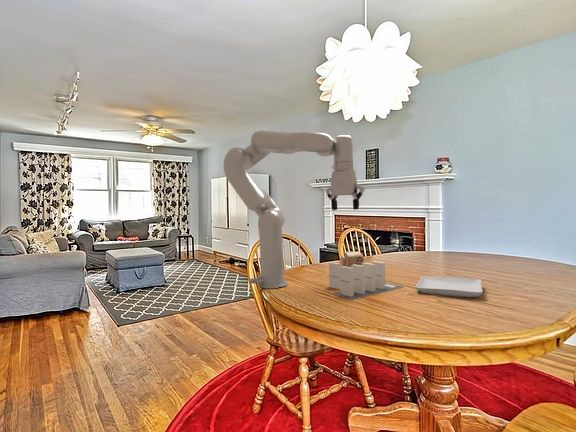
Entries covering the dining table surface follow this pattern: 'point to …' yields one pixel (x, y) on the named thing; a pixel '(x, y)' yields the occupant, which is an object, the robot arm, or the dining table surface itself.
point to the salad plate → (450, 286)
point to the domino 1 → (334, 275)
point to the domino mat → (368, 293)
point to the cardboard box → (352, 259)
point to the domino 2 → (347, 281)
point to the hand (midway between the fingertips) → (345, 209)
